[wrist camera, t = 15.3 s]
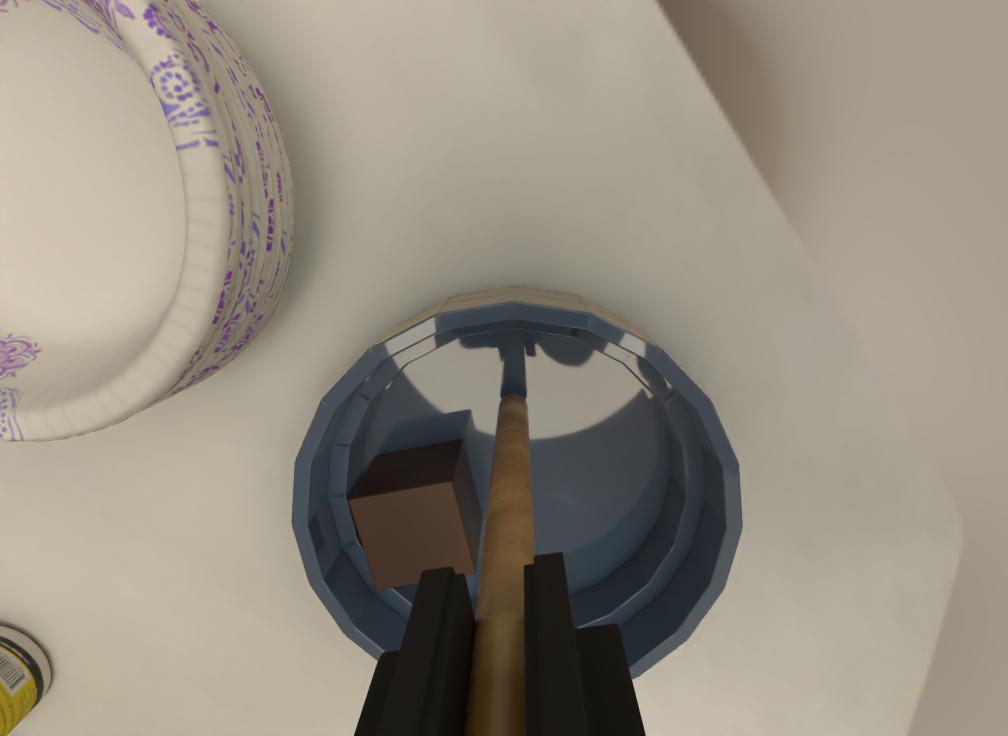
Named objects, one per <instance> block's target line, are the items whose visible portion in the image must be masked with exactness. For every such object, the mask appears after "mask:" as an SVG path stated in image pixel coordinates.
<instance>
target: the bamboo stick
mask: <svg viewBox="0 0 1008 736" xmlns="http://www.w3.org/2000/svg"><path fill="white" fill-rule="evenodd" d="M534 555H535V536H534V516H533V497H532V477H531V458H530V438H529V419H528V405H527V402H526V400H525V399H524V398H523V397H522V396H520V395H517V394H509V395H506V396H505V397H503V398H502V399H501V401H500V403H499V407H498V416H497V426H496V435H495V444H494V453H493V462H492V471H491V480H490V489H489V498H488V508H487V517H486V526H485V535H484V544H483V553H482V562H481V571H480V580H479V589H478V599H477V608H476V617H475V622H476V623H475V633H474V642H473V651H472V661H471V670H470V679H469V689H468V698H467V707H466V716H465V726H464V735H463V736H526V709H525V635H524V565H528V564H534Z"/></svg>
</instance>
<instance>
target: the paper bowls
mask: <svg viewBox="0 0 1008 736" xmlns="http://www.w3.org/2000/svg"><path fill="white" fill-rule="evenodd" d="M293 239H294V192H293V181H292V176H291V171H290V166H289V160H288V155H287V152H286V150H285V147H284V144H283V139H282V134H281V132H280V129H279V126H278V124H277V121H276V118H275V116H274V113H273V111H272V108H271V106H270V103H269V101H268V99H267V97H266V94H265V92H264V90H263V88H262V86H261V84H260V83H259V81H258V79H257V77H256V76H255V74H254V72H253V71H252V69H251V68H250V66H249V65H248V64H247V62H246V60H245V59H244V57H243V55H242V54H241V52H240V51H239V50H238V48H237V47H236V45H235V44H234V43H233V42H232V40H231V39H230V38H229V36H228V35H227V34H226V33H225V32H224V30H223V29H222V28H221V27H220V26H219V25H218V24H217V23H216V22H215V20H214V19H213V18H212V17H211V16H210V15H209V14H208V13H206V12H205V11H204V10H203V8H202V7H201V6H200V5H199V4H198V3H197V2H195V1H194V0H0V440H4V441H52V440H60V439H67V438H70V437H74V436H80V435H83V434H87V433H90V432H93V431H98V430H101V429H104V428H107V427H109V426H112V425H115V424H117V423H119V422H122V421H124V420H126V419H128V418H129V417H131V416H133V415H134V414H136V413H138V412H140V411H142V410H145V409H147V408H149V407H151V406H153V405H155V404H157V403H159V402H161V401H163V400H165V399H167V398H169V397H171V396H173V395H175V394H176V393H178V392H181V391H183V390H185V389H187V388H189V387H191V386H193V385H195V384H197V383H199V382H201V381H202V380H204V379H206V378H208V377H210V376H211V375H213V374H214V373H215V372H217V371H218V370H220V369H221V368H222V367H224V366H225V365H226V364H227V363H228V362H230V361H231V360H232V359H233V358H234V357H236V356H237V355H238V354H239V353H240V352H241V351H243V350H244V349H245V347H246V346H247V345H248V344H249V343H250V342H251V341H252V340H253V339H254V338H255V337H256V336H257V334H258V333H259V332H260V330H261V329H262V328H263V326H264V325H265V323H266V322H267V321H268V319H269V317H270V316H271V314H272V313H273V311H274V310H275V308H276V306H277V304H278V301H279V298H280V296H281V293H282V291H283V288H284V284H285V280H286V277H287V273H288V270H289V265H290V260H291V255H292V248H293Z"/></svg>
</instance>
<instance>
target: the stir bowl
mask: <svg viewBox="0 0 1008 736" xmlns="http://www.w3.org/2000/svg"><path fill="white" fill-rule="evenodd" d="M509 394H517V395H520V396H522V397H523V398H524V399H525V400H526V402H527V405H528V419H529V438H530V458H531V477H532V497H533V516H534V536H535V555H542V554H549V553H557V552H563V556H564V562H565V569H566V575H567V581H568V587H569V594H570V600H571V606H572V612H573V619H574V625H575V628H582V627H590V626H598V625H607V624H615V623H617V624H618V627H619V630H620V634H621V638H622V642H623V646H624V650H625V654H626V658H627V662H628V666H629V670H630V674H631V678H632V679H635V678H636V677H639V676H640V675H642V674H643V673H644V672H646V671H647V670H648V669H650V668H651V667H652V666H654V665H655V664H656V663H658V662H659V661H660V660H662V659H663V658H664V657H666V656H667V655H668V654H669V653H671V652H672V651H673V650H675V649H676V648H677V647H679V646H680V645H681V644H683V643H684V642H685V641H687V639H688V638H689V637H690V636H691V634H692V633H693V632H694V630H695V629H696V627H697V626H698V625H699V623H700V622H701V620H702V619H703V618H704V616H705V615H706V614H707V612H708V611H709V609H710V608H711V607H712V605H713V604H714V602H715V601H716V600H717V598H718V597H719V595H720V594H721V593H722V591H723V590H724V588H725V585H726V582H727V578H728V575H729V572H730V568H731V565H732V562H733V558H734V555H735V552H736V549H737V545H738V542H739V539H740V535H741V532H742V527H743V524H742V507H741V489H740V472H739V463H738V460H737V457H736V455H735V453H734V451H733V448H732V446H731V444H730V442H729V439H728V437H727V435H726V433H725V430H724V428H723V426H722V424H721V421H720V419H719V417H718V415H717V412H716V410H715V408H714V406H713V403H712V402H711V400H710V398H709V397H708V396H707V395H706V394H705V393H704V392H703V391H702V390H701V389H700V388H699V387H698V386H697V385H696V384H695V383H694V382H693V381H692V380H691V379H690V378H689V377H688V375H687V374H686V373H685V372H684V371H683V370H682V369H681V368H680V367H679V366H678V365H677V364H676V363H675V362H674V361H673V360H672V359H671V358H670V357H669V356H668V355H667V354H666V353H665V352H664V351H663V350H662V349H661V348H660V347H659V346H658V345H657V344H656V343H654V342H653V341H652V340H651V339H650V338H649V337H648V336H646V335H645V334H644V333H643V332H642V331H640V330H639V329H638V328H637V327H636V326H634V325H633V324H632V323H630V322H628V321H626V320H624V319H622V318H620V317H618V316H616V315H614V314H612V313H610V312H608V311H606V310H605V309H603V308H601V307H599V306H597V305H595V304H593V303H591V302H589V301H587V300H585V299H583V298H581V297H578V296H576V295H569V294H563V293H556V292H550V291H543V290H537V289H530V288H524V287H518V286H516V287H507V288H500V289H494V290H488V291H482V292H476V293H470V294H464V295H458V296H454V297H450V298H448V299H446V300H444V301H442V302H440V303H438V304H437V305H435V306H433V307H431V308H429V309H427V310H425V311H423V312H421V313H419V314H417V315H416V316H414V317H412V318H410V319H408V320H406V321H404V322H402V323H400V324H399V325H397V326H396V327H395V328H394V329H393V330H391V331H390V332H389V333H388V334H387V335H385V336H384V337H383V338H382V339H380V340H379V341H378V342H377V343H376V344H374V345H373V346H372V347H371V348H370V349H368V351H367V352H366V353H365V354H364V355H363V356H362V357H361V358H360V359H359V360H358V361H357V362H356V363H355V364H354V365H353V366H352V367H351V369H350V370H349V371H348V372H347V373H346V374H345V375H344V376H343V377H342V378H341V379H340V380H339V381H338V382H337V383H336V384H335V385H334V387H333V388H332V389H331V390H330V391H329V392H328V393H327V394H326V395H325V396H324V397H323V398H322V400H321V402H320V404H319V406H318V408H317V411H316V413H315V415H314V418H313V420H312V422H311V425H310V427H309V429H308V432H307V434H306V436H305V439H304V441H303V443H302V446H301V448H300V450H299V452H298V455H297V457H296V461H295V467H294V486H293V505H292V528H293V531H294V534H295V538H296V541H297V544H298V548H299V551H300V554H301V558H302V561H303V565H304V568H305V571H306V575H307V578H308V581H309V583H310V586H311V587H312V589H313V590H314V592H315V593H316V594H317V596H318V597H319V599H320V600H321V602H322V603H323V604H324V606H325V607H326V609H327V610H328V612H329V613H330V615H331V616H332V617H333V619H334V620H335V622H336V623H337V625H338V626H339V627H340V629H341V630H342V632H343V633H344V634H346V636H347V637H348V638H349V639H350V640H352V641H353V642H354V643H356V644H357V645H358V646H359V647H361V648H362V649H363V650H364V651H366V652H367V653H368V654H369V655H371V656H372V657H373V658H374V659H376V660H377V661H378V660H379V658H380V656H381V654H382V653H383V652H385V651H394V650H400V648H401V644H402V641H403V637H404V634H405V630H406V626H407V623H408V619H409V616H410V612H411V608H412V605H413V601H414V598H415V594H416V590H417V587H418V584H412V585H406V586H400V587H394V588H388V589H382V590H376V587H375V584H374V581H373V578H372V575H371V571H370V568H369V565H368V562H367V559H366V556H365V552H364V549H363V546H362V543H361V540H360V537H359V533H358V530H357V527H356V524H355V521H354V517H353V514H352V511H351V508H350V505H349V502H348V499H349V498H350V496H351V495H352V493H353V491H354V490H355V488H356V486H357V485H358V483H359V482H360V480H361V478H362V477H363V475H364V473H365V472H366V470H367V469H368V467H369V465H370V464H371V462H372V461H373V459H374V457H375V456H376V455H381V454H387V453H392V452H397V451H402V450H408V449H413V448H418V447H424V446H429V445H434V444H440V443H445V442H450V441H456V440H461V439H462V440H463V441H464V445H465V449H466V453H467V457H468V461H469V465H470V469H471V473H472V478H473V482H474V486H475V490H476V494H477V498H478V502H479V506H480V510H481V514H482V518H483V519H482V527H481V536H480V544H479V552H478V561H477V569H476V573H475V574H471V575H465V576H466V580H467V585H468V589H469V594H470V599H471V603H472V608H473V613H474V617H476V608H477V599H478V589H479V580H480V571H481V562H482V553H483V544H484V535H485V526H486V517H487V508H488V498H489V489H490V480H491V471H492V462H493V453H494V444H495V435H496V426H497V416H498V407H499V403H500V401H501V399H502V398H503V397H505V396H506V395H509Z"/></svg>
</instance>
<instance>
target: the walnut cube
mask: <svg viewBox="0 0 1008 736" xmlns="http://www.w3.org/2000/svg"><path fill="white" fill-rule="evenodd" d="M348 502H349V505H350V508H351V511H352V514H353V517H354V521H355V524H356V527H357V530H358V533H359V537H360V540H361V543H362V546H363V549H364V552H365V556H366V559H367V562H368V565H369V568H370V571H371V575H372V578H373V581H374V584H375V587H376V590H382V589H388V588H394V587H400V586H406V585H412V584H418V583H419V580H420V576H421V573H422V571H423V570H428V569H436V568H443V567H451V566H452V567H453V568H454V570H455V574H460V573H464V574H465V575H471V574H475V573H476V569H477V561H478V552H479V544H480V536H481V527H482V519H483V518H482V514H481V510H480V506H479V502H478V498H477V494H476V490H475V486H474V482H473V478H472V473H471V469H470V465H469V461H468V457H467V453H466V449H465V445H464V441H463V440H462V439H461V440H456V441H450V442H445V443H440V444H434V445H429V446H424V447H418V448H413V449H408V450H402V451H397V452H392V453H387V454H381V455H376V456H375V457H374V459H373V461H372V462H371V464H370V465H369V467H368V469H367V470H366V472H365V473H364V475H363V477H362V478H361V480H360V482H359V483H358V485H357V486H356V488H355V490H354V491H353V493H352V495H351V496H350V498H349V499H348Z"/></svg>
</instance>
